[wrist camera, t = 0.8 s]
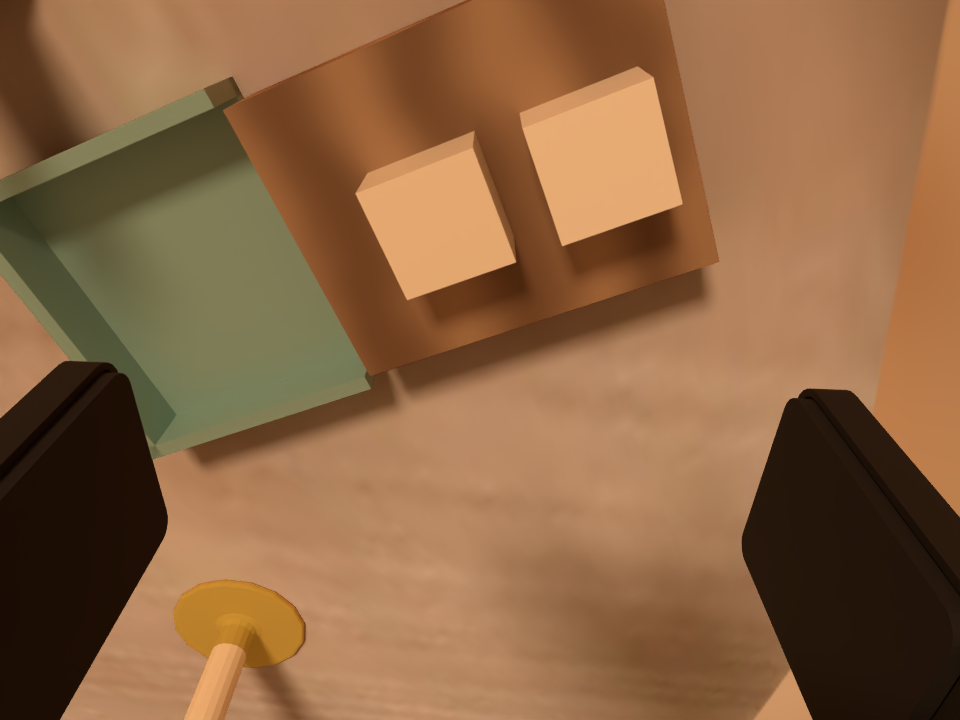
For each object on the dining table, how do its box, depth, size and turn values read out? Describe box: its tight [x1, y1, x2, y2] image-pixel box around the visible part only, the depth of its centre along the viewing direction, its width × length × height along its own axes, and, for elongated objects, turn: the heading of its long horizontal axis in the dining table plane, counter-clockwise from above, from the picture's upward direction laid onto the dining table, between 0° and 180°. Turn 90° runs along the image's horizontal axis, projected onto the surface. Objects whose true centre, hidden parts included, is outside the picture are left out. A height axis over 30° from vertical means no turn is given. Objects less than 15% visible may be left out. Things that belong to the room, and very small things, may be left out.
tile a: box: [520, 66, 683, 246], centre depth 27 cm, size 5×5×3 cm
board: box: [223, 0, 719, 376], centre depth 31 cm, size 18×14×4 cm
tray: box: [0, 77, 375, 460], centre depth 34 cm, size 14×16×4 cm
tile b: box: [355, 131, 516, 300], centre depth 28 cm, size 5×5×3 cm
